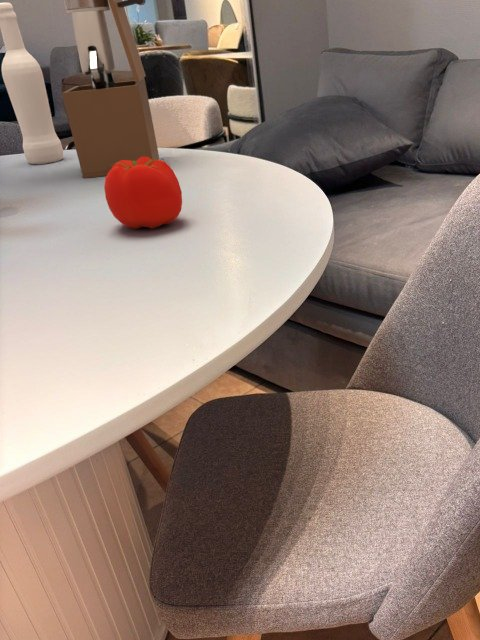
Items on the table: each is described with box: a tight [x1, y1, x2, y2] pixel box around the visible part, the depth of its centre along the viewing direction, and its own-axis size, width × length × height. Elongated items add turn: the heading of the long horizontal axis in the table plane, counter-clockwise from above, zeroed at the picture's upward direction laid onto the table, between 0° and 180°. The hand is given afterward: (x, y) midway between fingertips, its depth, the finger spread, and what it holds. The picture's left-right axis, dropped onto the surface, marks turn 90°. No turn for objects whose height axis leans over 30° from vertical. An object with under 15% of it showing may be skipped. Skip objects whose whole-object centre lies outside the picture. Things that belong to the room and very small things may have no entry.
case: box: [61, 78, 160, 179], centre depth 124 cm, size 14×14×15 cm
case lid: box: [108, 0, 147, 83], centre depth 116 cm, size 14×14×5 cm
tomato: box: [103, 157, 183, 229], centre depth 87 cm, size 11×11×9 cm
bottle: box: [0, 2, 64, 165], centre depth 134 cm, size 8×8×30 cm
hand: (109, 111), depth 122 cm, fingers closed on bottle small, 6 cm apart
